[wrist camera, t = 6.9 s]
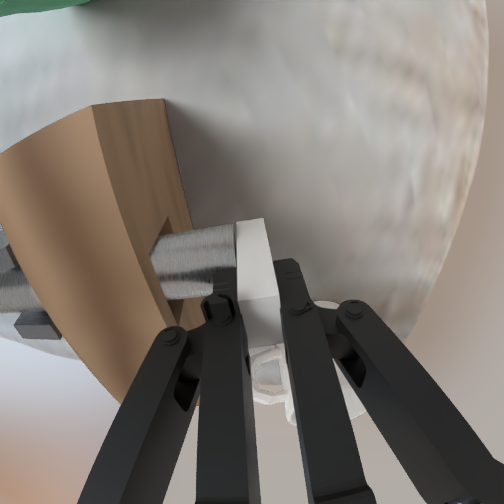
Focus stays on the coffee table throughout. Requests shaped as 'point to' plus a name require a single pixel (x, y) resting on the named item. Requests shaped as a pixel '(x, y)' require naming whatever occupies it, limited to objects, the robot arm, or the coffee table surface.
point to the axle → (164, 262)
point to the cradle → (28, 322)
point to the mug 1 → (34, 5)
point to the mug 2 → (269, 398)
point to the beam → (99, 230)
